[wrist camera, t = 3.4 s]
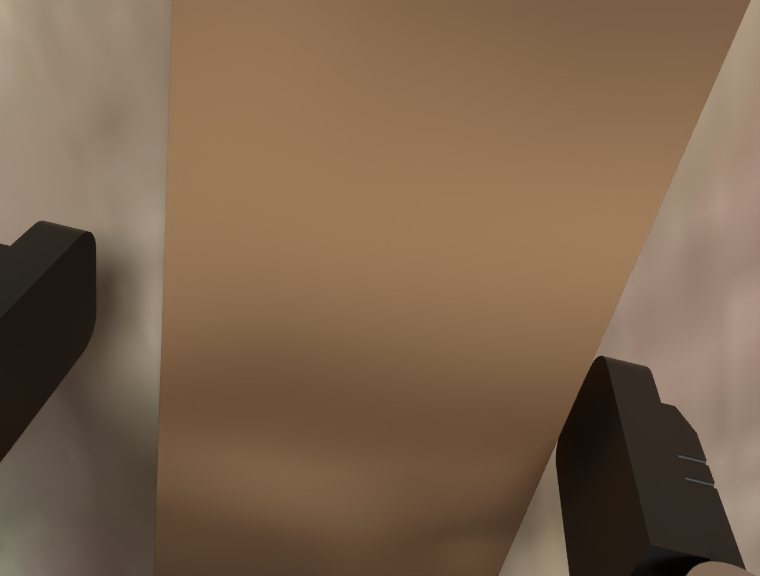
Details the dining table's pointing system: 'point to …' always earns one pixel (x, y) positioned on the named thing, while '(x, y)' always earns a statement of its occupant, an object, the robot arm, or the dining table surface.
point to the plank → (399, 263)
